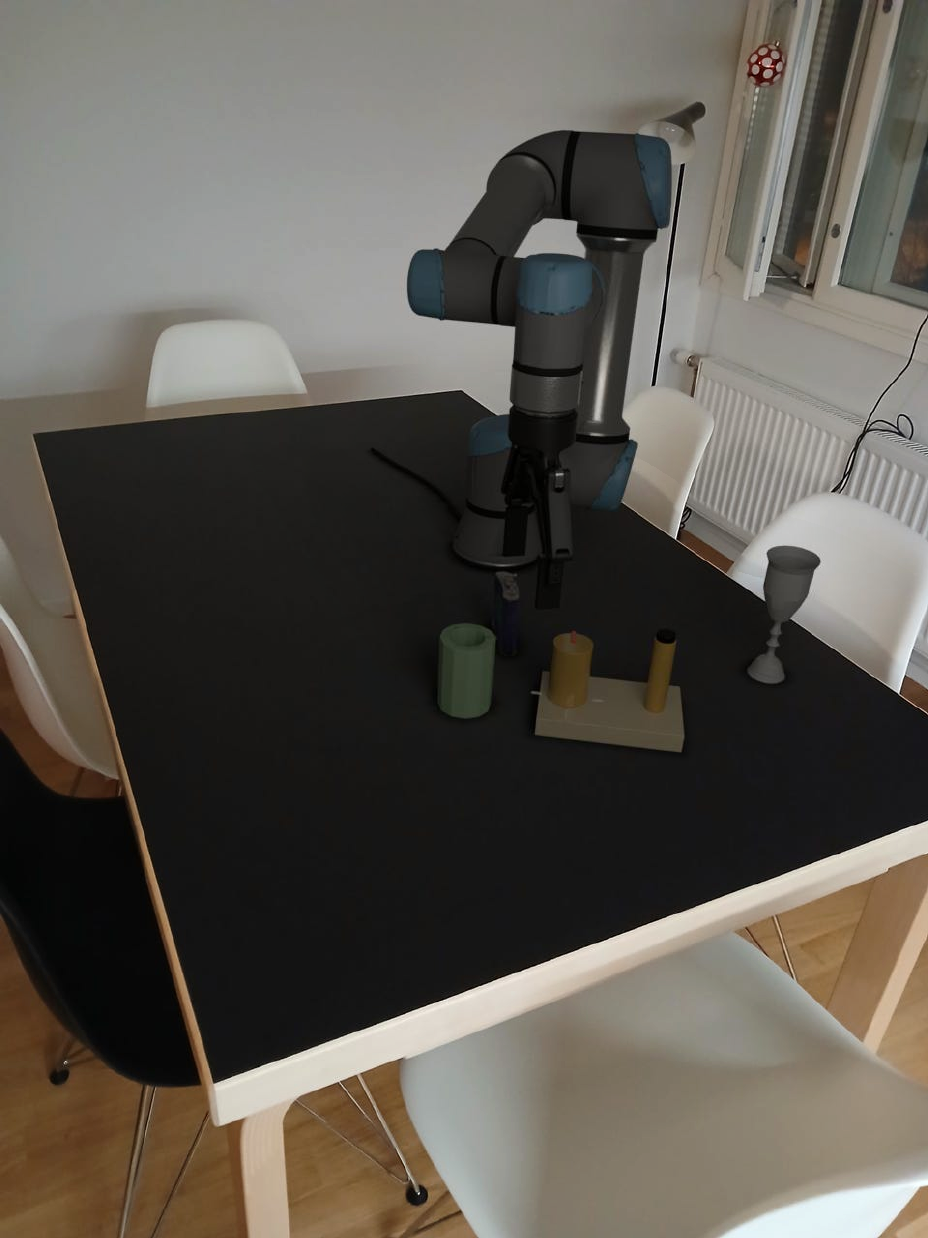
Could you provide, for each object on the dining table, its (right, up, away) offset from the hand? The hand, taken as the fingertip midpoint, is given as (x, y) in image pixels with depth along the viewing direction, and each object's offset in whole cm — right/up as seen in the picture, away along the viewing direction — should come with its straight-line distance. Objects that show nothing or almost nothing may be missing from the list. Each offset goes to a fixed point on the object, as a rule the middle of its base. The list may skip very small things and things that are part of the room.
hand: (529, 580), depth 115 cm
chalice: (+34, -12, +19) cm, 41 cm away
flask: (-2, -8, +24) cm, 26 cm away
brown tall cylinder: (+16, -18, +8) cm, 25 cm away
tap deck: (+11, -17, +8) cm, 22 cm away
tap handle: (+5, -15, +7) cm, 17 cm away
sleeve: (-8, -16, +10) cm, 20 cm away
